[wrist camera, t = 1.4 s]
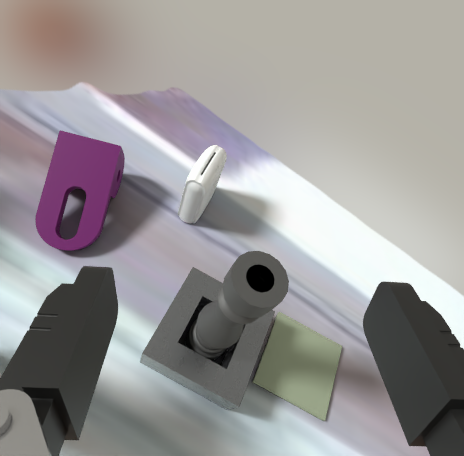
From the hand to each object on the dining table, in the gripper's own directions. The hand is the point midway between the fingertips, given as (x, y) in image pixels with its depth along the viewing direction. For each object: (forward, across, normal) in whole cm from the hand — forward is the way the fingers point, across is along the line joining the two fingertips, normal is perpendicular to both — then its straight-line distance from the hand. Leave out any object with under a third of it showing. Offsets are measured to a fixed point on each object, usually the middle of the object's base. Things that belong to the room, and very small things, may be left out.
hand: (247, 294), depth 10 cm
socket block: (+25, -1, -37) cm, 45 cm away
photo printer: (+48, -4, -27) cm, 56 cm away
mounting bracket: (+43, -23, -26) cm, 55 cm away
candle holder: (+25, -1, -37) cm, 45 cm away
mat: (+24, +14, -40) cm, 49 cm away
